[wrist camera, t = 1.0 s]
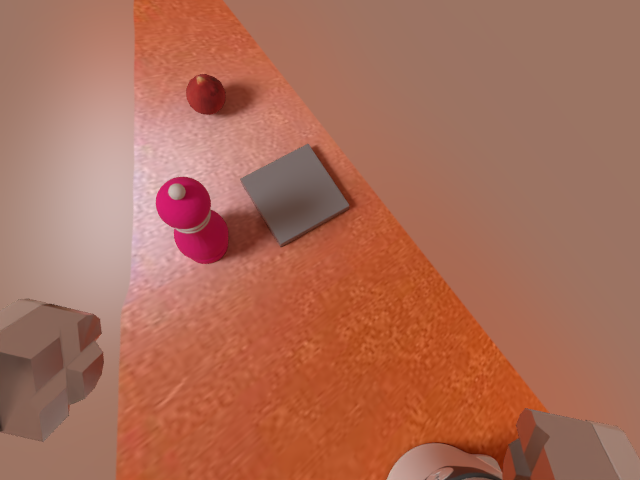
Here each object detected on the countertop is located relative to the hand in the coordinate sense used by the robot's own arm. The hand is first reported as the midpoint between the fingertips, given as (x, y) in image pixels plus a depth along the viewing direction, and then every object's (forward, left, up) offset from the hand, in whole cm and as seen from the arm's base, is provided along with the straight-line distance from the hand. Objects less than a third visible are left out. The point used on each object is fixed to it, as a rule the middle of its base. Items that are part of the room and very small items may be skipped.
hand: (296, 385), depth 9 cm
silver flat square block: (+23, -15, -56) cm, 63 cm away
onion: (+43, -11, -57) cm, 72 cm away
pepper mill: (+23, 0, -57) cm, 61 cm away
